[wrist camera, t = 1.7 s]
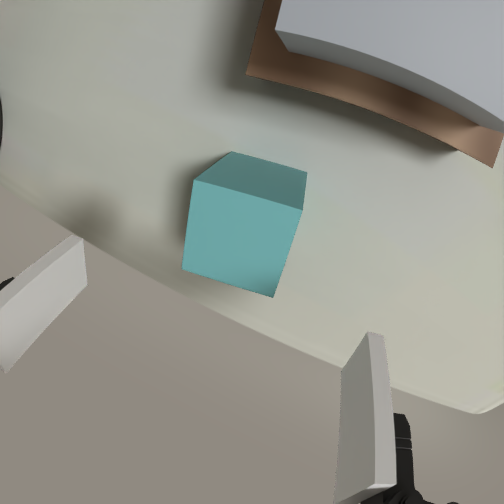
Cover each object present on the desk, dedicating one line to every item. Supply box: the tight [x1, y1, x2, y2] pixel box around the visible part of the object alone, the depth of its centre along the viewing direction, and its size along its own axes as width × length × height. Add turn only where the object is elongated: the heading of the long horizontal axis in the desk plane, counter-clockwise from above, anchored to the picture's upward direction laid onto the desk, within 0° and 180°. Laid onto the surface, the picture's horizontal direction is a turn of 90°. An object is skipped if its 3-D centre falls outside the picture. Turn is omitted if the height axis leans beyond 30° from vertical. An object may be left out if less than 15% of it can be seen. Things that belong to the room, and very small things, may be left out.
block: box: [182, 151, 307, 298], centre depth 21 cm, size 6×6×8 cm
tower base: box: [245, 0, 504, 168], centre depth 13 cm, size 16×16×6 cm
